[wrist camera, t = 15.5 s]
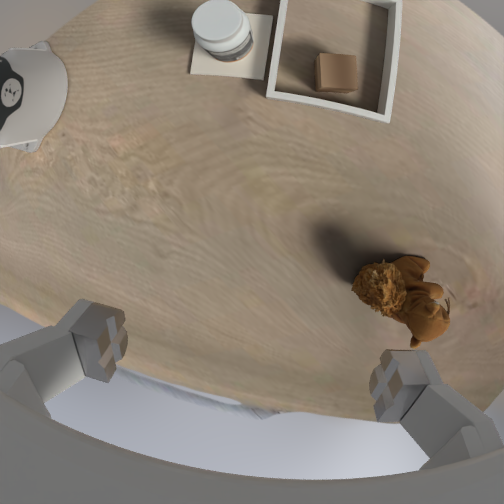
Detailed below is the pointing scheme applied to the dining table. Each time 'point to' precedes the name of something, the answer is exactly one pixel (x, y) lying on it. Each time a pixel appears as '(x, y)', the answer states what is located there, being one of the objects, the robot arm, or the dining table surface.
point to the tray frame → (383, 115)
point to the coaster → (243, 68)
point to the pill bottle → (223, 30)
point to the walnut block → (335, 73)
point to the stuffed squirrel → (404, 296)
